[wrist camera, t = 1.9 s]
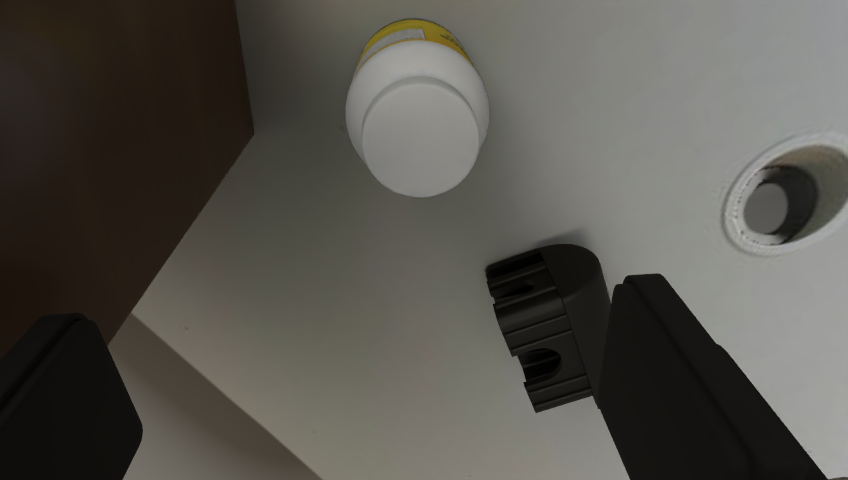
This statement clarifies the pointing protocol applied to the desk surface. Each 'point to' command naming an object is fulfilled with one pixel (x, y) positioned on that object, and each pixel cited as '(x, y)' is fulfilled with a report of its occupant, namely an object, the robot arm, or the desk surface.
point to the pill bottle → (417, 108)
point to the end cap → (553, 320)
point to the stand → (109, 147)
